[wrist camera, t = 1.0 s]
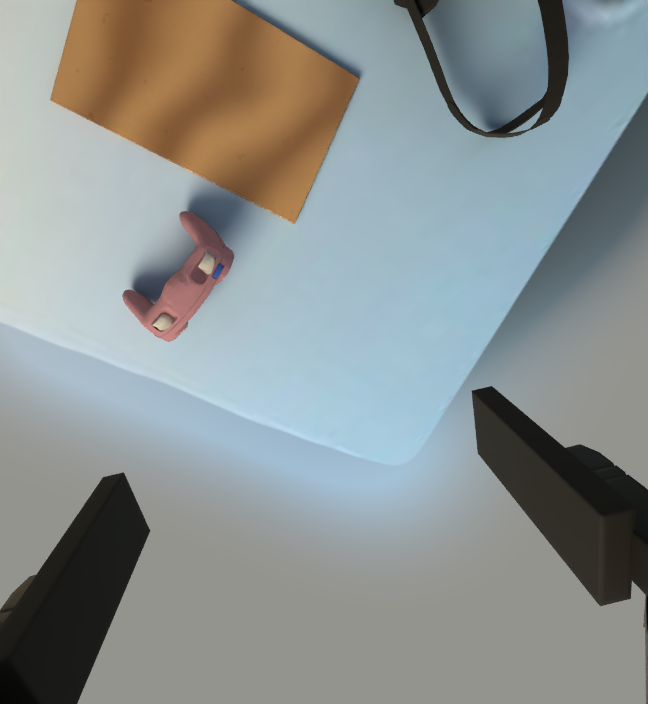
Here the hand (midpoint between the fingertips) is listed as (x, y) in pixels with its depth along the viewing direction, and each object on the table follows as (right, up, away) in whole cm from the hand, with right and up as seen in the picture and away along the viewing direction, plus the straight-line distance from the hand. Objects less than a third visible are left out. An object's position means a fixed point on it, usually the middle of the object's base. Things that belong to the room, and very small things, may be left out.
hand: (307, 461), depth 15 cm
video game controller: (-12, +11, +21) cm, 26 cm away
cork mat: (-8, +24, +16) cm, 30 cm away
